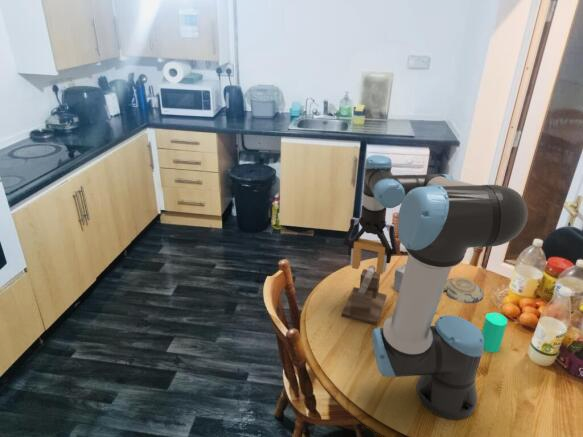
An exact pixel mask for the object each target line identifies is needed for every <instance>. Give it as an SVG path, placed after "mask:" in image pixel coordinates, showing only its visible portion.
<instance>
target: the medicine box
mask: <svg viewBox="0 0 583 437" xmlns="http://www.w3.org/2000/svg"><path fill="white" fill-rule="evenodd" d="M405 267H406V263H405V264H404V265H402V266H400V267H398V268H396V269H395V271H394V279H393V286H392V287H393V290H395V291H397V292H399V290H400V286H401V282H402V279H403V275H404V271H405Z"/></svg>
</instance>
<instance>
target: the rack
mask: <svg viewBox="0 0 583 437" xmlns="http://www.w3.org/2000/svg"><path fill="white" fill-rule="evenodd" d="M376 269H377V267H376V266H375V265H369V266H368V268H367V269H365V268H363V269H362V271H361V274H360V282H359V287H357V286H356V287H355V286H353V288H352V290H351V291H350V293H349V296H348V298H347V300H346V303H345V305H344V307H343V309H342V310H341V316H340V317H342V318H347V319H350V320H355V321H358V322H361V323H362V322H363V323H366V324H369V325H374V326H378V322H379V320H380V317H381V314H382V311H383V308H384V305H385V302H386V299H387V293H381V292H379V288H380V281H381V274H377V273H376Z"/></svg>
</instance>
